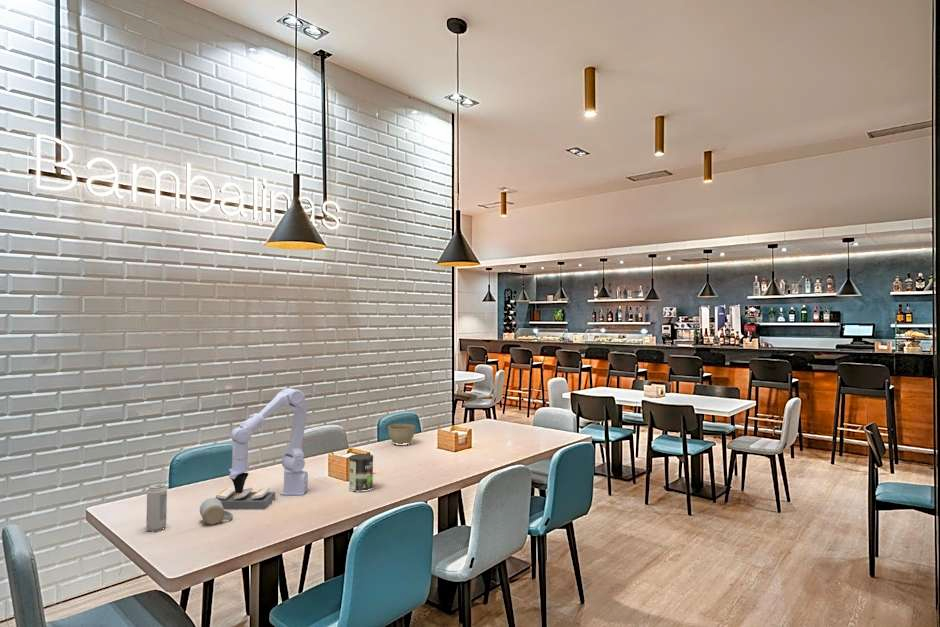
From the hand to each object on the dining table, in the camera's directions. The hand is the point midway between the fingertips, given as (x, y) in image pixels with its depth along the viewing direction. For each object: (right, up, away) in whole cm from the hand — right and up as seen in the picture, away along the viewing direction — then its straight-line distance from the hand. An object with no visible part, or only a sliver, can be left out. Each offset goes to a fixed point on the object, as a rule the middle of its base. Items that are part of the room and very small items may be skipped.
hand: (238, 492), depth 216 cm
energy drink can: (-18, -4, -26) cm, 32 cm away
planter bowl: (+51, -7, +108) cm, 120 cm away
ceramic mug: (0, -5, -18) cm, 19 cm away
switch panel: (+2, -5, 0) cm, 5 cm away
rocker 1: (-5, -1, 0) cm, 5 cm away
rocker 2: (+9, -1, 0) cm, 9 cm away
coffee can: (+44, -6, +21) cm, 49 cm away
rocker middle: (+2, -1, 0) cm, 2 cm away
